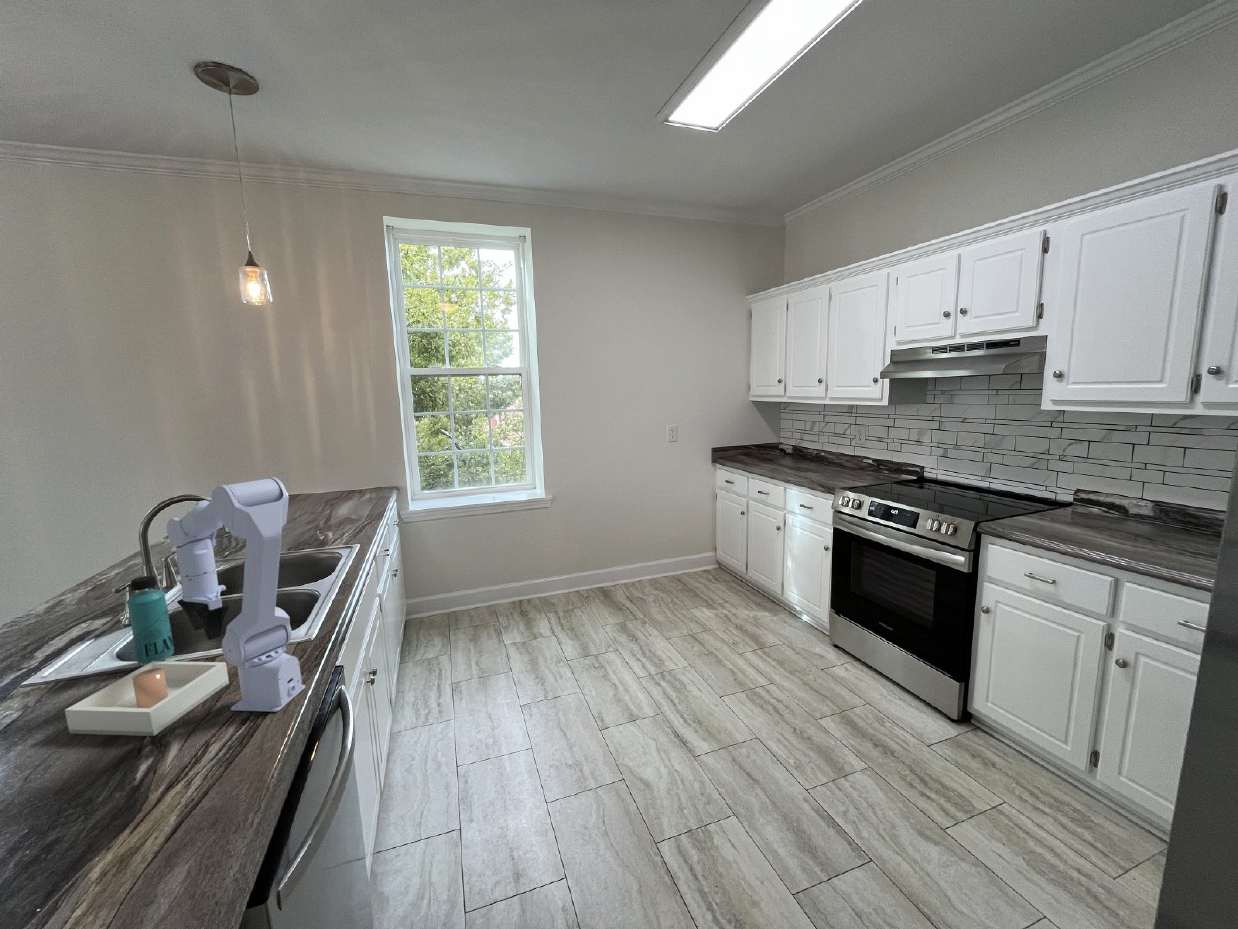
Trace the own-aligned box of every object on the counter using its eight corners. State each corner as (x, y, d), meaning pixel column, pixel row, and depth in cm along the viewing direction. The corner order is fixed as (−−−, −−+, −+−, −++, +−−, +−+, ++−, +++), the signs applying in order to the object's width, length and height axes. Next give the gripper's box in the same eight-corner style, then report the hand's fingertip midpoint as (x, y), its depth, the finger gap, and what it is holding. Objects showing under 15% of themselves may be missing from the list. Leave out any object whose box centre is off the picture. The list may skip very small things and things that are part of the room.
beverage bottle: (143, 674, 108) (127, 585, 105) (132, 665, 112) (117, 579, 109) (181, 660, 114) (167, 575, 111) (170, 652, 117) (156, 570, 114)
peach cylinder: (168, 703, 96) (163, 675, 95) (136, 713, 94) (131, 684, 93) (168, 693, 100) (164, 665, 99) (138, 702, 97) (133, 673, 96)
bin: (228, 683, 104) (225, 662, 104) (154, 736, 89) (149, 712, 88) (156, 681, 105) (152, 661, 105) (69, 733, 90) (64, 710, 89)
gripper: (235, 572, 103) (244, 634, 106) (208, 560, 111) (216, 617, 113) (192, 583, 98) (202, 648, 100) (167, 569, 106) (177, 630, 108)
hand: (207, 633), depth 106 cm, fingers open, 7 cm apart
